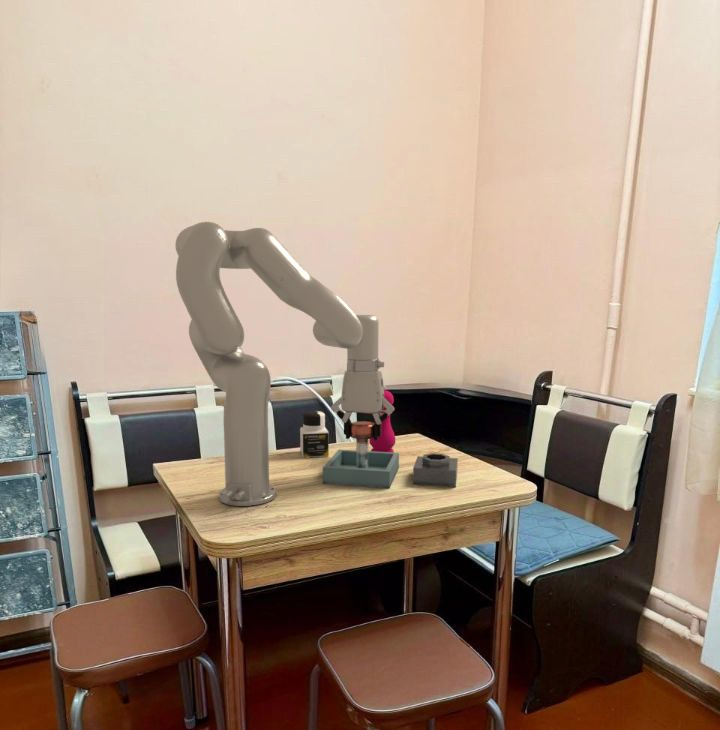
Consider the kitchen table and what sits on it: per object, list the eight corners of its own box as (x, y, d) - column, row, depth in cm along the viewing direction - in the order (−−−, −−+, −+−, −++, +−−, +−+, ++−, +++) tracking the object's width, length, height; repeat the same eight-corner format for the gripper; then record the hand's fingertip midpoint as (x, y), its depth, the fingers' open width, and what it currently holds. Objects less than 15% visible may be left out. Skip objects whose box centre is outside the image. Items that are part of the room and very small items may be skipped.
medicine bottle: (303, 458, 159) (302, 415, 157) (300, 451, 166) (299, 410, 164) (328, 456, 160) (328, 414, 159) (325, 450, 167) (324, 409, 166)
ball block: (455, 487, 136) (456, 464, 135) (412, 484, 138) (413, 461, 137) (457, 474, 145) (457, 452, 145) (417, 471, 147) (417, 450, 147)
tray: (389, 488, 135) (389, 471, 134) (322, 483, 138) (322, 467, 137) (398, 467, 150) (399, 452, 150) (338, 464, 153) (338, 449, 153)
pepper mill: (399, 454, 162) (400, 384, 160) (387, 461, 156) (387, 387, 154) (377, 451, 166) (378, 382, 164) (364, 457, 160) (364, 385, 158)
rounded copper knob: (376, 464, 146) (376, 422, 145) (372, 472, 140) (372, 427, 139) (353, 463, 147) (353, 420, 146) (347, 470, 142) (347, 426, 140)
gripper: (400, 365, 143) (399, 436, 145) (331, 363, 146) (332, 433, 148) (396, 369, 135) (395, 444, 138) (324, 367, 139) (324, 440, 141)
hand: (362, 437), depth 143 cm, fingers open, 6 cm apart
